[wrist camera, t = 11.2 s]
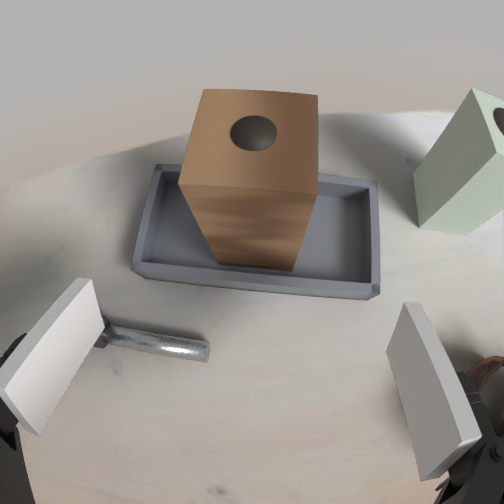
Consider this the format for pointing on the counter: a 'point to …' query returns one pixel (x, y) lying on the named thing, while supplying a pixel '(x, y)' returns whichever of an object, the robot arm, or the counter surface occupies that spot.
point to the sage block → (464, 169)
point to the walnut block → (253, 174)
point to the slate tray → (266, 280)
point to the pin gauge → (153, 343)
